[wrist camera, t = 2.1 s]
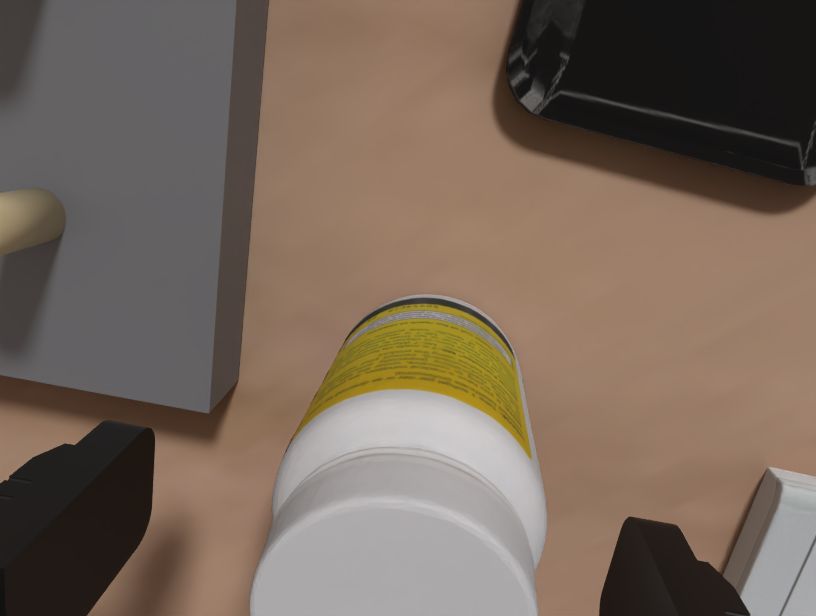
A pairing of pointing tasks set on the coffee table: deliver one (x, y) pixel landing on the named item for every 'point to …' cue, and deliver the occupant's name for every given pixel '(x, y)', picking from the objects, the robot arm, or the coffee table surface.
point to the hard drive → (778, 548)
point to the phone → (678, 77)
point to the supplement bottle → (410, 477)
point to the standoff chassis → (128, 193)
